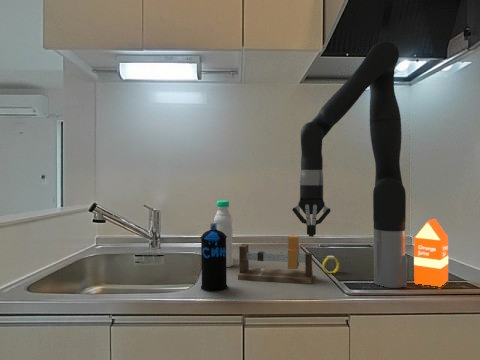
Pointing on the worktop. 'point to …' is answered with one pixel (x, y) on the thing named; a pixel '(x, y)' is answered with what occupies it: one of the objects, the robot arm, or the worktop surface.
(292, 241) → the collar
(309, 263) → the rig
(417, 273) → the orange juice
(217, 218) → the water bottle
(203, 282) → the aerosol can
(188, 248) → the worktop surface
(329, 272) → the watch
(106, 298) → the worktop surface
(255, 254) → the grey square bar
